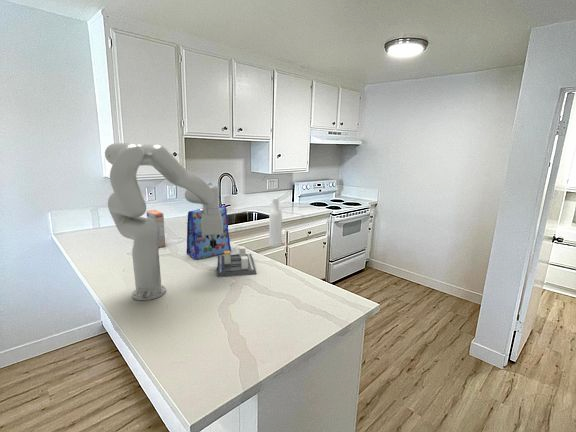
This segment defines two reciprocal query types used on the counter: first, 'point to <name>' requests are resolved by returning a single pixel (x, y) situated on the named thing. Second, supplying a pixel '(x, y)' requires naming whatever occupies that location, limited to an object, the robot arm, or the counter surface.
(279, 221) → the bottle
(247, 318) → the counter surface
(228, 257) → the block
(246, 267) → the block
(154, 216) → the cracker box
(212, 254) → the lunch bag
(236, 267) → the panel
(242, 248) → the block
